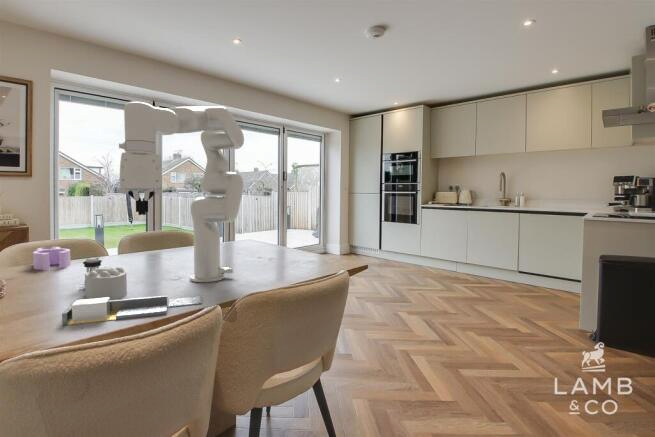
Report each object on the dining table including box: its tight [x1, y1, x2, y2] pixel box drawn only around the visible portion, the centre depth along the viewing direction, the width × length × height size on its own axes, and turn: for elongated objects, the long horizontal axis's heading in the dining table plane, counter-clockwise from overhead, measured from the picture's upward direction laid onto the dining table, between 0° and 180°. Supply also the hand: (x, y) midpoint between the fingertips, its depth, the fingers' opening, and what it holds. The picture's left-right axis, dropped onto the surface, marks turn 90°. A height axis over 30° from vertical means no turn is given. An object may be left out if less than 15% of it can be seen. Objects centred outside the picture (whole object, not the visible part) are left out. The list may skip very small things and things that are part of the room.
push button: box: [79, 257, 103, 289], centre depth 119 cm, size 7×5×10 cm
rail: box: [61, 295, 168, 326], centre depth 94 cm, size 24×8×3 cm, turn 113°
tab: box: [168, 295, 202, 308], centre depth 106 cm, size 9×7×1 cm
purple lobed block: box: [32, 246, 72, 272], centre depth 151 cm, size 20×12×7 cm, turn 46°
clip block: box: [72, 297, 111, 323], centre depth 91 cm, size 8×4×4 cm, turn 114°
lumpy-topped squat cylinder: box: [84, 266, 128, 301], centre depth 111 cm, size 10×13×9 cm
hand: (142, 214), depth 98 cm, fingers closed
